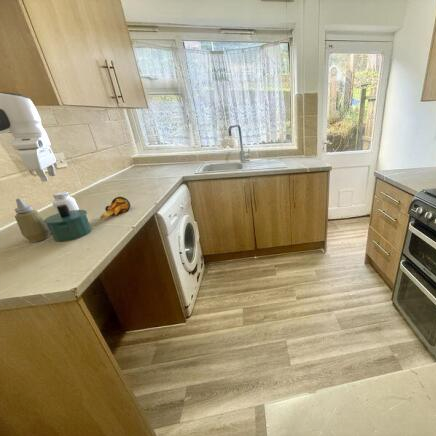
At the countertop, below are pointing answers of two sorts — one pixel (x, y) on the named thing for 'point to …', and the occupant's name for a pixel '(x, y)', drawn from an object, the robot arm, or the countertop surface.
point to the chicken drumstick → (117, 207)
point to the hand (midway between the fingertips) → (49, 178)
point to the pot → (70, 229)
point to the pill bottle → (64, 201)
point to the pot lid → (65, 215)
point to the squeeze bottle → (30, 222)
